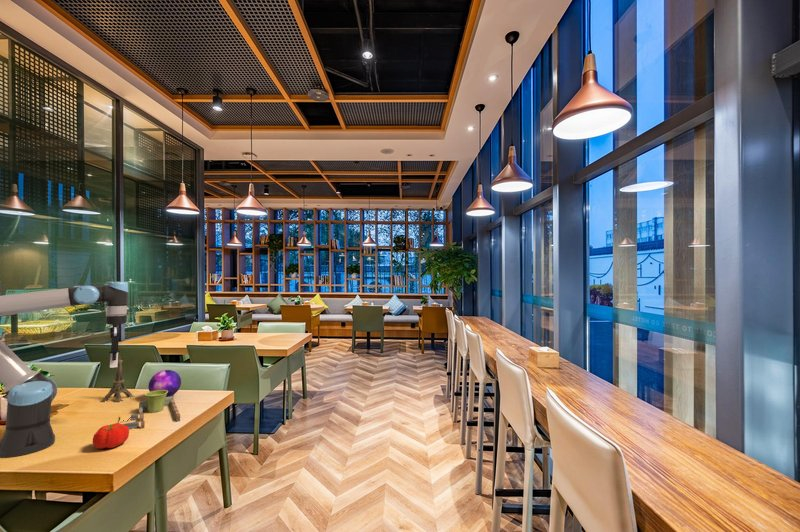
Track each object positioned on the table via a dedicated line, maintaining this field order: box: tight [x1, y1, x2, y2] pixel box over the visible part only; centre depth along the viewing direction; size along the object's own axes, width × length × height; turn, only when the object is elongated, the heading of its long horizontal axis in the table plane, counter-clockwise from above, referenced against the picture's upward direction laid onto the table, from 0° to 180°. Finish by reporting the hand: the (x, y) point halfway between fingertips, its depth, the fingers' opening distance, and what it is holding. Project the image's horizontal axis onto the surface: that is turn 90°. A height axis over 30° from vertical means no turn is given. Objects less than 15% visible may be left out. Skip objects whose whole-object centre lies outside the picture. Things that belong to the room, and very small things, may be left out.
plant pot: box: [144, 390, 168, 413], centre depth 173 cm, size 9×9×9 cm
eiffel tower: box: [99, 357, 135, 403], centre depth 191 cm, size 11×11×25 cm
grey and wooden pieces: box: [121, 395, 181, 430], centre depth 165 cm, size 29×22×4 cm
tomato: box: [92, 422, 130, 450], centre depth 135 cm, size 11×11×8 cm
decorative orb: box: [147, 369, 182, 397], centre depth 193 cm, size 15×15×15 cm
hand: (113, 367), depth 160 cm, fingers closed
